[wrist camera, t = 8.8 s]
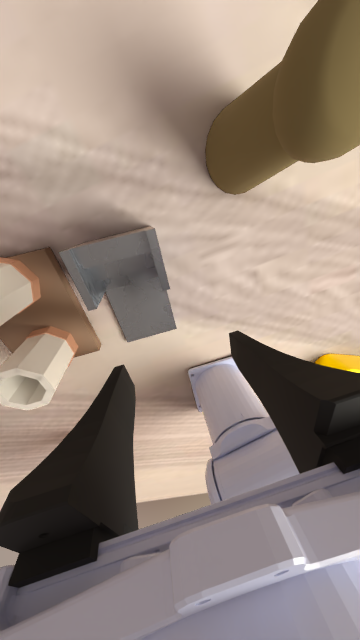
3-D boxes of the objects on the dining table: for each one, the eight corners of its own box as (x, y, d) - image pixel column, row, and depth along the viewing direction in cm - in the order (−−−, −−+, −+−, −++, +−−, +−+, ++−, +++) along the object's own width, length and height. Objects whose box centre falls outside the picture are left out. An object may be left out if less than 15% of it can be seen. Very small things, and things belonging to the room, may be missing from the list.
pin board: (101, 344, 22) (93, 368, 18) (32, 363, 22) (10, 392, 18) (50, 247, 17) (24, 254, 13) (-44, 269, 16) (-97, 284, 12)
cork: (214, 204, 17) (303, 185, 8) (196, 117, 14) (306, -87, 5) (275, 180, 17) (437, 132, 8) (269, 88, 14) (522, -171, 5)
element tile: (318, 351, 30) (346, 371, 26) (382, 356, 34) (415, 375, 30) (278, 413, 37) (296, 437, 32) (335, 412, 40) (358, 433, 36)
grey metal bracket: (176, 326, 23) (187, 358, 18) (126, 340, 22) (122, 377, 17) (150, 226, 17) (154, 228, 12) (84, 242, 17) (58, 252, 12)
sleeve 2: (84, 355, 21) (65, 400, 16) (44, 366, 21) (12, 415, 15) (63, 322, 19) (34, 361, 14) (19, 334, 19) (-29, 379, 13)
